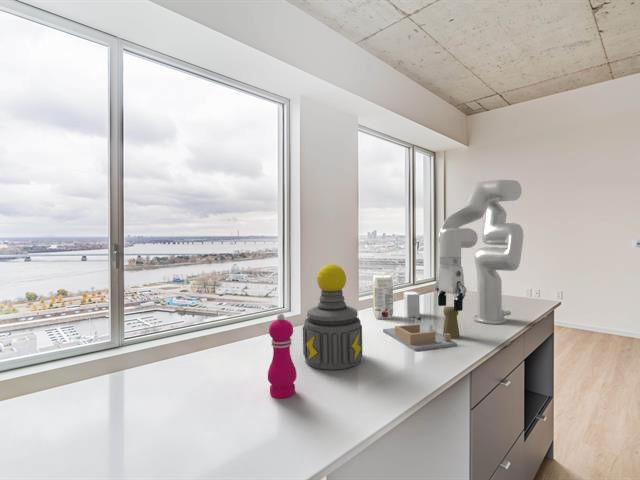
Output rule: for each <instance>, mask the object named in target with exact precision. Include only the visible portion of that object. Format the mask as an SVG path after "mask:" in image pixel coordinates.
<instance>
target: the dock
mask: <svg viewBox="0 0 640 480" xmlns="http://www.w3.org/2000/svg"><path fill="white" fill-rule="evenodd" d="M382 329H383V330H382V332H383V333H384V334H386V335H388V336H390V337H391V338H393V339H394V340H396V341H398V342H399V343H401V345H402V344H403V345H404V346H405V347H408V348H409V349H411V350H413V351H414V352H418V351H424V350H425V351H426V349H427V350H434V348H435V349H442V348H443V347H444V348H450V347H457V342H455V341H453V340H452V339H451V334H449V333H447V334H444V337H443V335H440V334H438V333H437V332H436V331H435V330H433V331H429V332H426V331H424V330H422V329H420V325H419V324H416V323H415V324H413V323H412V324H405V325H404V324H403V325H395V326H394V327H391V328H382ZM444 348H443V349H444Z"/></svg>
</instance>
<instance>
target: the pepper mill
mask: <svg viewBox="0 0 640 480" xmlns="http://www.w3.org/2000/svg"><path fill="white" fill-rule="evenodd" d="M268 327H269V328H268V334H269V336H270V337H271V340H270V342H271V345H270V346H272V349H273V350H272V351H273V352H272V358H271V359H272V360H271V362H270V365H269V368H268V372H267V381H268V383H269V384H270V386H269V394H270V396H271V397H273V398H276V399H287V398H289V397H292V396H294V394H295V393H296V384H295V381H296V380H297V369H296V367H295V365H294V362H293V359H292V356H291V350H290V349H291V345H292V338H291V337H292V335H293V333H294V326H293V324H292V323H291V321H290V320H287V319H285V314H284V313H278V314H277V317H276V320H274V321H273V322H271V324H270V325H269V326H268Z"/></svg>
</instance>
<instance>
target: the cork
mask: <svg viewBox="0 0 640 480" xmlns="http://www.w3.org/2000/svg"><path fill="white" fill-rule="evenodd" d="M443 314H444V321H443V329H442V330H443V331H442V336H443V337H444V334H447V333H449V334H451V340H457V339H460V338H461V336H460V328H459V322H458V315H459V311H454V306H444V308H443Z"/></svg>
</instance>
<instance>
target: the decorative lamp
mask: <svg viewBox="0 0 640 480" xmlns="http://www.w3.org/2000/svg"><path fill="white" fill-rule="evenodd" d="M316 282H317V285H318V288H320V290H321V291H320V296H319V299H318V300H319V302H318V304H317V305H316V306H314V307H312V308H310V309H308V310H307V311H306V313H307V315H306V316H307V318H305V320H304V325H303V326H302V346H303V347H302V349H303V350H302V354H303V356H304V359H305V362H306V363H307V365H309V366H311V367H313V368H314V369H319V370H326V371H339V370H341V371H342V370H347V369H350V368H353V367H356V366H357V365H359V364H360V363H361V360H362V357H363V326H362V323H361V322H362V321H361V319H360V318H359V317H358V310H357V309H356V308H353V307H351V306H349V305H347V303H346V302H345V296H344V295H343V294H344V293H343V289H344V287H346V284H347V283H346V282H347V276H346V272H345V271H344V269H343V268H342V267H341V266H339V265H337V264H334V263H331V264H326V265H323V266H322V267H321V268H320V269H319V271H318V272H317V275H316Z"/></svg>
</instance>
